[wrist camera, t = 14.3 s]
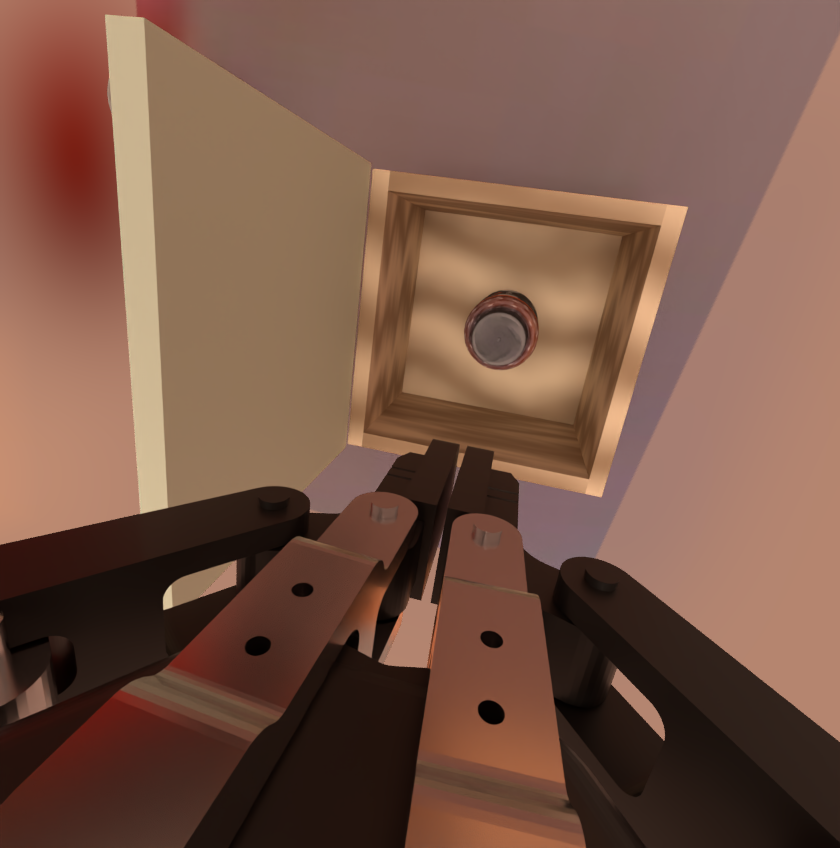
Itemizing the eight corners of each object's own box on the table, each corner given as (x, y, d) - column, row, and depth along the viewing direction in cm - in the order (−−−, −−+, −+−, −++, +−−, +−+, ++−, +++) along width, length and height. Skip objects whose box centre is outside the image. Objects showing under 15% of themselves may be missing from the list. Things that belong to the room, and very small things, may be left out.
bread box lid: (371, 163, 32) (354, 161, 32) (143, 17, 13) (104, 14, 13) (345, 447, 39) (331, 444, 39) (173, 623, 20) (147, 616, 20)
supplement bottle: (497, 276, 45) (489, 280, 35) (550, 312, 45) (558, 327, 35) (462, 330, 47) (444, 349, 37) (512, 364, 47) (508, 393, 37)
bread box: (416, 195, 45) (372, 168, 32) (638, 224, 42) (688, 207, 29) (392, 398, 52) (347, 443, 39) (581, 435, 49) (601, 497, 36)
